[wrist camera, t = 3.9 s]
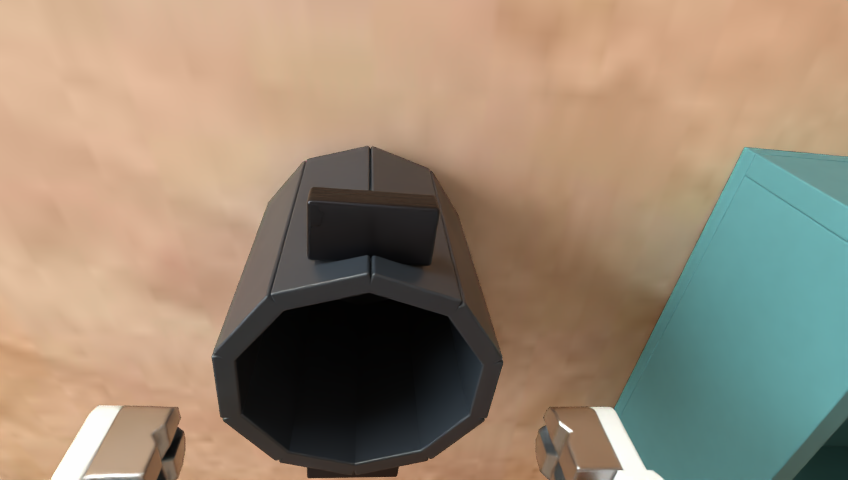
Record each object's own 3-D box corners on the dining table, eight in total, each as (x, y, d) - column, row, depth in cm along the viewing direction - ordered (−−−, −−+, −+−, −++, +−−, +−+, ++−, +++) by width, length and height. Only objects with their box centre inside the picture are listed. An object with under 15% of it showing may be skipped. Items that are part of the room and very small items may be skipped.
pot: (263, 94, 14) (189, 211, 8) (475, 115, 15) (543, 232, 9) (274, 325, 19) (232, 503, 13) (435, 329, 20) (464, 497, 14)
